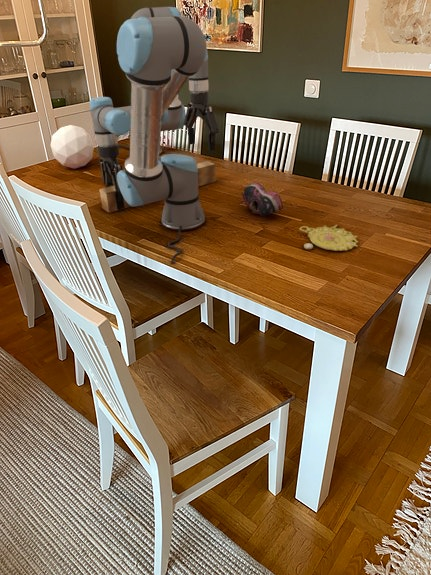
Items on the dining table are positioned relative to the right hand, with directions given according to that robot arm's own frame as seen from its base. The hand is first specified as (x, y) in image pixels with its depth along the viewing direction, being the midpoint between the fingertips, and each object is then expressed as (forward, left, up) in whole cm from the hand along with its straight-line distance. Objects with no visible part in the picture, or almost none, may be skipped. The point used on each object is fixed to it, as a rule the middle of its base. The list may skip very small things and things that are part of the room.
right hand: (117, 206), depth 169 cm
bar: (+10, -18, -1) cm, 21 cm away
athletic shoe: (-15, -52, -1) cm, 54 cm away
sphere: (+57, +21, -1) cm, 61 cm away
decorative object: (-42, -68, -1) cm, 80 cm away
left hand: (+21, -36, +14) cm, 44 cm away
